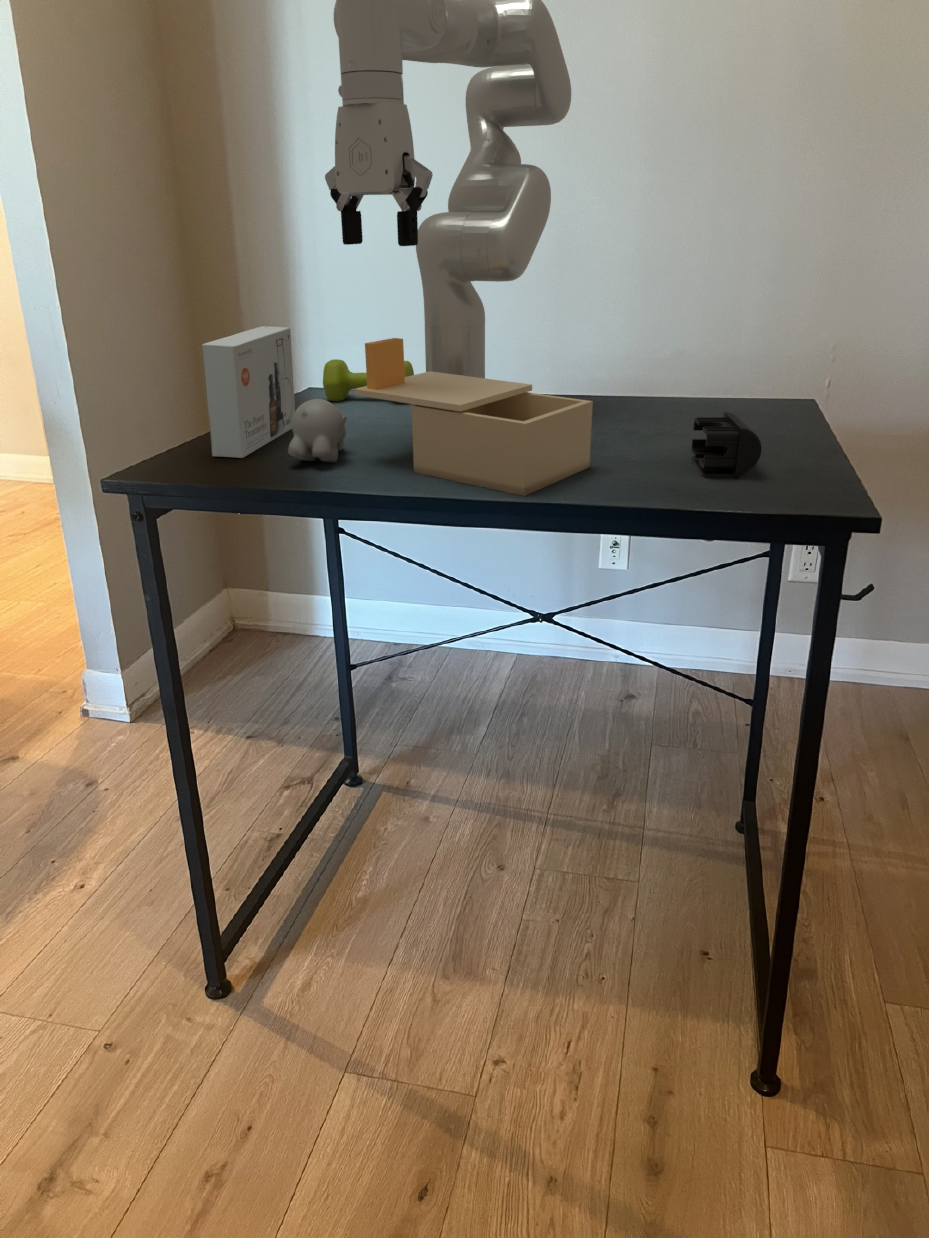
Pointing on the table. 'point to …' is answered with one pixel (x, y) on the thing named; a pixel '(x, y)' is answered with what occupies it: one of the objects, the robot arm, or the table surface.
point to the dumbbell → (347, 379)
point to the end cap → (724, 447)
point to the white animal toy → (317, 431)
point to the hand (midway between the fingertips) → (379, 245)
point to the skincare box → (249, 389)
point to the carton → (504, 442)
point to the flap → (427, 382)
